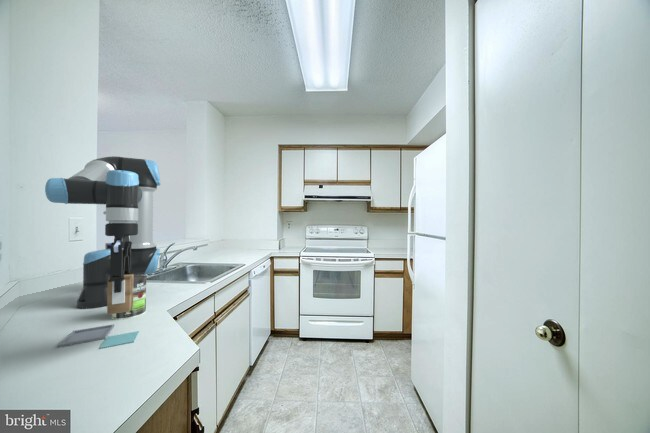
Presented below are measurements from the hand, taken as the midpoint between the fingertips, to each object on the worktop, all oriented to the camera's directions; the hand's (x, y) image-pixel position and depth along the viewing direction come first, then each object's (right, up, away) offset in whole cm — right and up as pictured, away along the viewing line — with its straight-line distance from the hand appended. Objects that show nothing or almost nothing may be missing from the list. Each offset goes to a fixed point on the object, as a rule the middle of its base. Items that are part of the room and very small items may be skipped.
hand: (121, 300), depth 72 cm
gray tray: (-12, -12, +2) cm, 17 cm away
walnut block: (0, -3, 0) cm, 3 cm away
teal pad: (0, -12, 0) cm, 12 cm away
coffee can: (-14, -13, +20) cm, 27 cm away
